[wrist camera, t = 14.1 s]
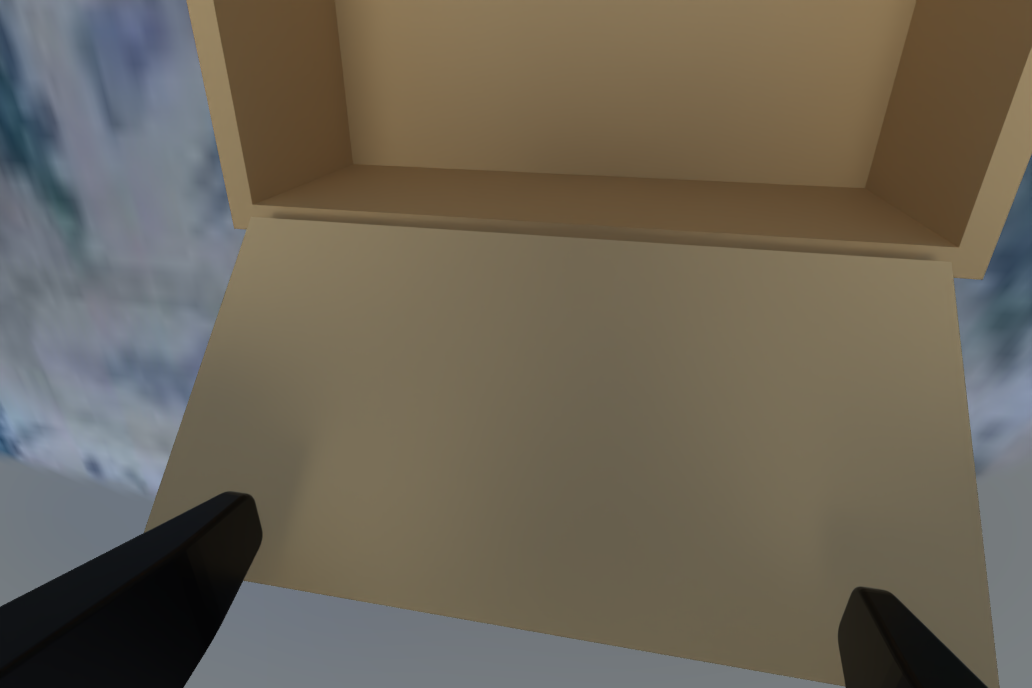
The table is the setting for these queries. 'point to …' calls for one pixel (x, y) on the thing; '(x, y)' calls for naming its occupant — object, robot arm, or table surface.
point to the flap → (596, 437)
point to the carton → (631, 119)
